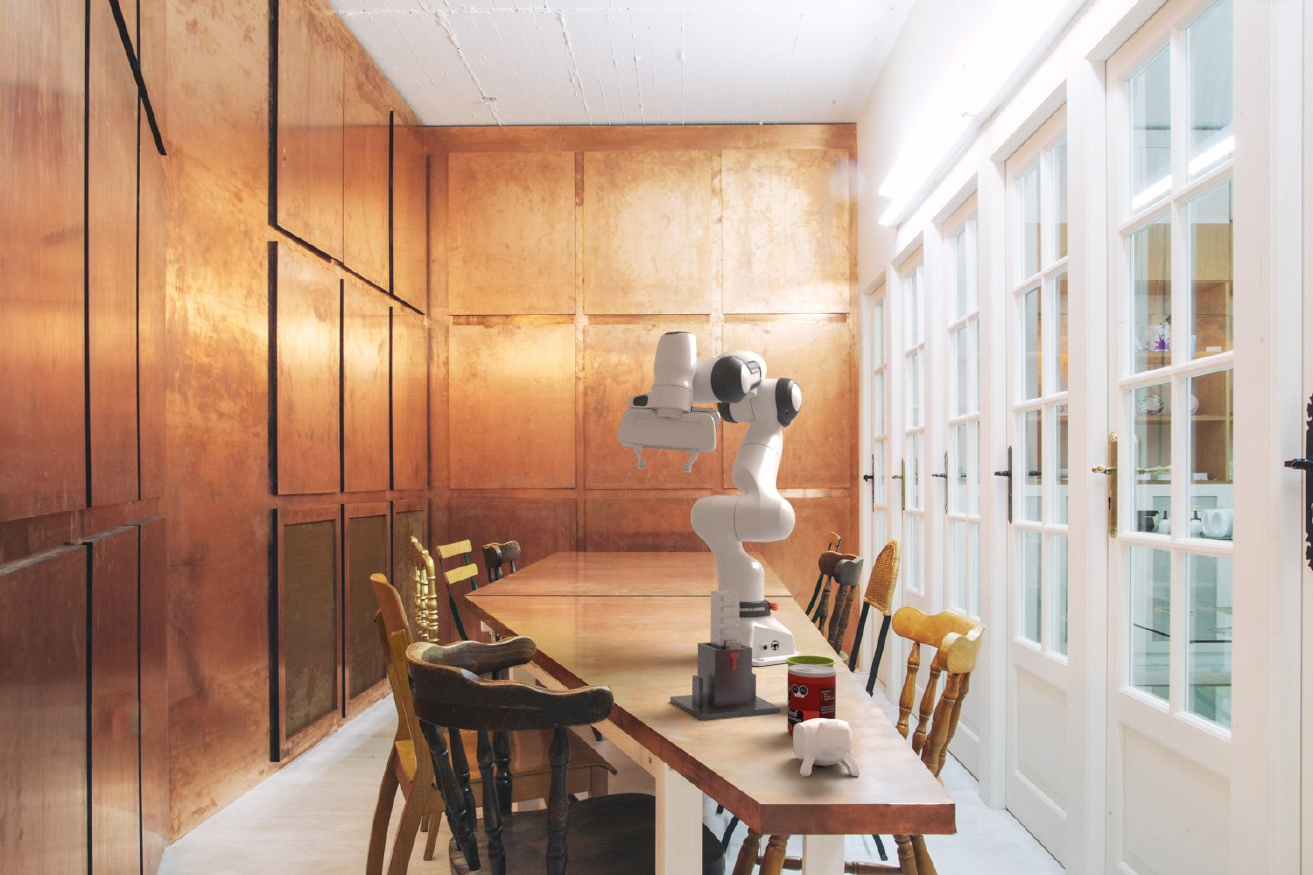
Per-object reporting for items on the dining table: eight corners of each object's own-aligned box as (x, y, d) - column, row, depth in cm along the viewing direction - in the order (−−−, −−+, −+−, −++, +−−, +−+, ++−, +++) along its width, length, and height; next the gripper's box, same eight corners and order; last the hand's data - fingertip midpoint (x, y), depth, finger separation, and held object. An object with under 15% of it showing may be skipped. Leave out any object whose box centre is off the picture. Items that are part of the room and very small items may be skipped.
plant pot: (780, 708, 167) (780, 661, 167) (791, 697, 175) (791, 653, 176) (830, 714, 163) (830, 666, 164) (839, 702, 172) (839, 657, 172)
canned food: (784, 727, 154) (785, 663, 154) (831, 728, 153) (831, 664, 154) (790, 740, 146) (790, 672, 147) (839, 741, 146) (839, 673, 146)
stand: (744, 695, 176) (745, 629, 177) (780, 712, 163) (780, 641, 164) (670, 701, 171) (671, 633, 171) (700, 720, 158) (701, 646, 158)
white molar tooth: (789, 780, 136) (811, 773, 122) (785, 722, 139) (806, 709, 126) (844, 779, 136) (872, 772, 123) (839, 722, 140) (866, 708, 126)
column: (729, 695, 170) (730, 590, 171) (740, 701, 165) (741, 593, 166) (708, 697, 168) (709, 590, 169) (719, 703, 164) (720, 593, 165)
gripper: (721, 412, 186) (715, 477, 183) (625, 406, 189) (618, 469, 186) (719, 404, 180) (713, 470, 177) (620, 397, 183) (612, 462, 180)
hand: (663, 470), depth 181 cm, fingers open, 8 cm apart
